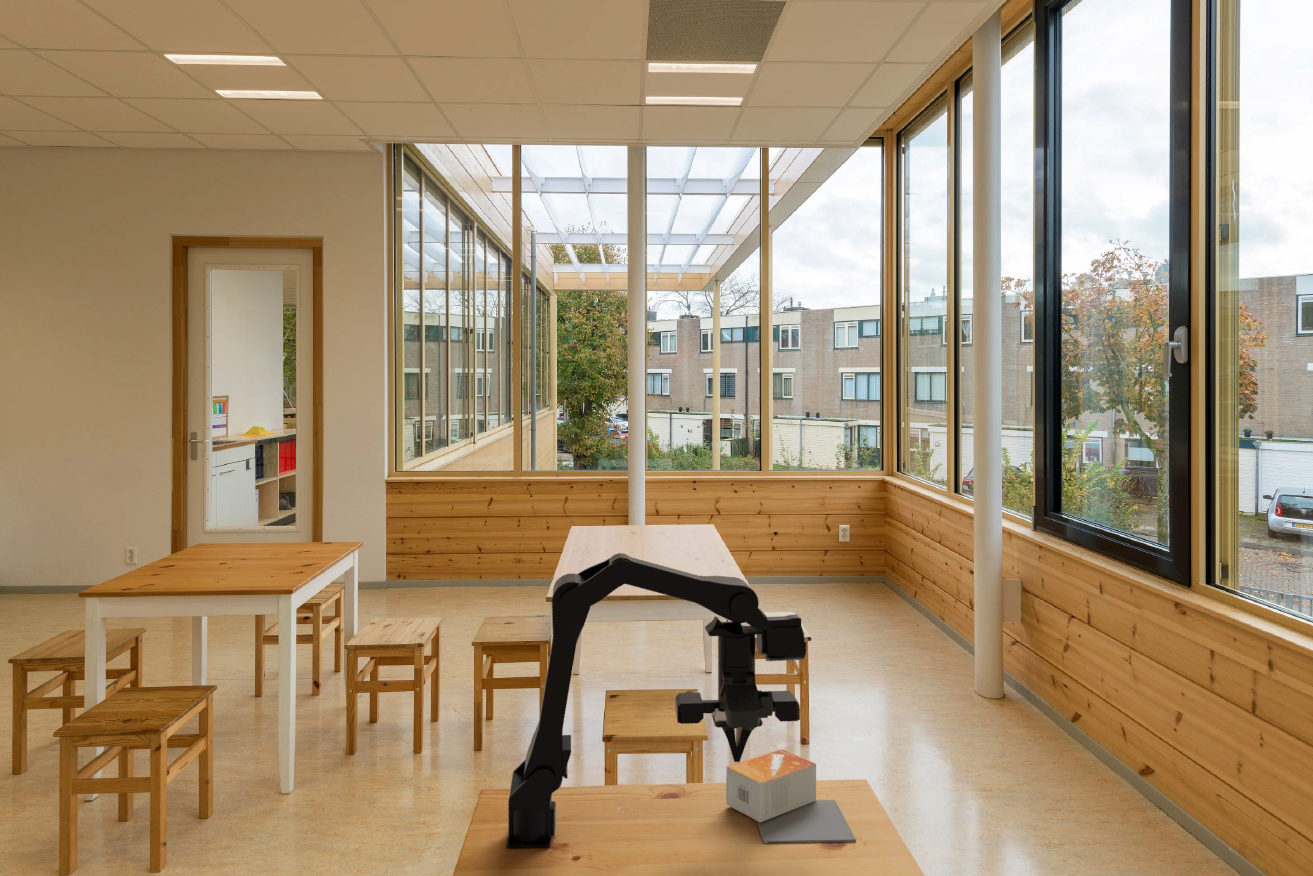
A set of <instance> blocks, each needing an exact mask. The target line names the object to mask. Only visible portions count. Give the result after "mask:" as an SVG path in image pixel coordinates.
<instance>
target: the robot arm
mask: <svg viewBox="0 0 1313 876" xmlns="http://www.w3.org/2000/svg"><path fill="white" fill-rule="evenodd" d="M623 585H627V586H628V585H629V586H631V587H634V588H638V589H639V588H640V589H642V590H647V591H651V592H652V593H653V592H654V593H658V594H661V595H665V596H669V597H673V598H676V599H680V600H683V601H687V602H691V603H695V604H697V605H699V606H701V607H703V608H705V609H707V610H709V611H710V612H712V613H713V614H715V615H718V616H720V617H722V618H724V619H726V620H729V621H721V620H720V619H719V617H717V616H714V617H713V619H712V620H711V621H710V622H708V623H707V625H705V626H704V629H705V632H707V634H708V636H709V637H717V699H705V700H704V699H702V694H701V692H678V694H676V696H675V698H674V700H675V701H674V703H675V705H674V706H675V707H674V709H675V715H676V720H677V721H676V722H677V723H679V724H682V725H683V724H684V725H685V724H687V725H689V724H692V725H693V724H699V723H700V722H701V721H702V720H703V719H704V714H710V715H711V717H712V721H713V724H714V727H716V728H719V729H720V728H721V729H722V731H723V733H724V735H725V737H726V739H727V742H728V745H729V749H730V752H731V756H732V758H733V761H734V763H740V762H741V759H742V756H743V754H744V750H745V747H746V746H747V742H748V739H749V738H750V735H751V734H752V732H753V731H754V730H755V729H756V728H759V727H762V726H763V720H762V719H768V717H772V716H773V713H774V717H775V718H777V719H778V720H779V722H799V721H800V720H801V707H800V706H801V705H800V703H799V701H798V700H797V698H796V696H795V694H794V693H793V692H792V691H791V690H765V691H762V690H759V689H758V686H757V684H756V648H757V653H758V655H763V657H764V659H765V661H766V662H780V661H781V662H782V661H802V660H805V657H806V653H807V641H806V640H805V634H804V629H803V626H802V618H801V617H800V616H799V615H798V614H789V615H785V616H783V615H782V616H781V615H780V616H767V615H766V614H765V613H764V611H763V610H761V608H759V604H760V602H759V597H758V595H757V593H756V592H755V591H754V589H752V588H751V586H750V585H749V584H748V583H747V582H746V581H745V580H743V579H741V578H739V577H735V576H722V575H699V574H698V575H697V574H694V573H690V572H687V571H683V570H679V569H675V568H672V567H669V566H664V565H660V564H657V563H654V562H650V561H646V560H642V559H640V558H639V559H638V558H635V557H632V556H630V555H628V554H627V553H624V552H623V553H621V552H618V553H615V554H614V555H612V556H611V557H609V558H608V559H605V560H604V561H601V562H599V563H596V564H594V565H592V566H589V567H587V568H585V569H583V570H582V571H579V572H578V573H566V574H564V575H561V576H560V577H559V578H557V580H556V581H555V583H554V585H553V588H552V597H551V613H552V614H551V616H552V617H551V620H552V624H551V625H552V640H551V647H550V652H549V658H548V665H547V670H546V677H545V682H544V683H545V684H544V688H543V689H544V690H543V697H542V701H541V703H542V704H541V708H540V714H539V719H538V723H537V725H536V727H535V730H534V733H533V734H532V737H531V740H530V744H529V745H528V746H529V747H528V749H527V752H526V755H525V759H524V760H523V761H522V762H521V763H520V764H519V765H518V766H517V767H516V768H515V769H514V770H513V771H512V776H511V781H510V782H511V783H510V789H509V795H508V805H507V806H508V808H507V809H508V813H507V814H508V815H507V816H508V817H507V819H508V825H507V826H508V831H507V832H508V835H507V839H506V842H505V843H506V845H505V846H506V847H505V848H508V849H509V848H510V849H511V848H513V849H514V848H515V849H517V848H549V847H550V846H551V844H552V839H553V838H552V837H555V835H556V828H557V803H556V801H555V800H554V801H553V793H555V792H556V791H558V790H559V789H560V787H561V786H562V782H563V779H568V773H569V772H568V763H569V761H570V757H571V755H572V735H571V734H563V729H564V722H565V716H566V709H567V705H568V697H569V692H570V687H571V678H572V672H573V667H574V662H575V661H574V660H575V654H576V650H577V649H576V648H577V644H578V640H579V638H580V635H581V633H582V631H583V628H584V626H585V623H586V621H587V618H588V615H589V612H590V609H591V606H594V605H595V604H597V603H599V602H600V601H602V600H604V598H606V597H607V596H609V595H610V594H611V593H613V592H614V591H615V590H617V589H619V588H620V587H622V586H623ZM744 623H746V624H747V625H742V624H744ZM735 729H736V731H735ZM735 732H736V733H735Z"/></svg>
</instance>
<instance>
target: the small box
mask: <svg viewBox="0 0 1313 876" xmlns="http://www.w3.org/2000/svg"><path fill="white" fill-rule="evenodd" d="M725 779H726V780H725V781H726V782H725V783H726V784H725V787H726V788H725V795H726V796H725V804H726V805H727V806H729V807H730V808H732V809H734V810H735V811H738V812H739V813H741V814H744V815H745V816H746V817H749V818H751V819H753V820H755V821H756V822H757V821H758V822H760V823H761V822H763V821H766V820H768V819H771V818H773V817H776V816H778V815H781V814H784V813H786V812H789V811H791V810H794V809H796V808H799V807H801V806H804V805H806V804H809V803H812V802H814V801H816V800H817V764H816V763H815V762H813V761H810V760H808V759H806V758H803V757H801V756H799V755H796V754H793V753H791V752H789V751H786V750H784V749H779V750H775V751H773V752H770V753H767V754H763V755H760V756H759V755H758V756H757V757H753V758H750V759H746V760H744V761H743V760H742V761H740V762H736V763H733V764H731V765H728V766H726V778H725Z"/></svg>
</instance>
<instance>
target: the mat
mask: <svg viewBox="0 0 1313 876" xmlns="http://www.w3.org/2000/svg"><path fill="white" fill-rule="evenodd" d="M757 823H758V824H757ZM756 824H757V827H758V826H759V827H758V829H760V830H759V833H760V832H761V833H760V836H761V835H762V837H761V839H763V840H762V842H779V843H778V844H782V843H781V842H784V843H785V844H787V843H789V844H790V843H793V844H795V843H798V844H799V843H839V842H840V843H844V842H847V843H849V842H850V843H851V842H857V838H856V836H855V835H854V833H853V830H852V829H851V827H850V826H849V824H848V822H847V819H846V818H845V816H844V815H843V813H842V811H841V809H840V807H839V805H838V804H837V801H836V800H835V799H816V801H814V802H812V803H809V804H806V805H804V806H801V807H799V808H796V809H794V810H791V811H789V812H786V813H784V814H781V815H778V816H776V817H773V818H771V819H768V820H766V821H763V822H761V823H760V822H758V821H756ZM784 843H783V844H784Z"/></svg>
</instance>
